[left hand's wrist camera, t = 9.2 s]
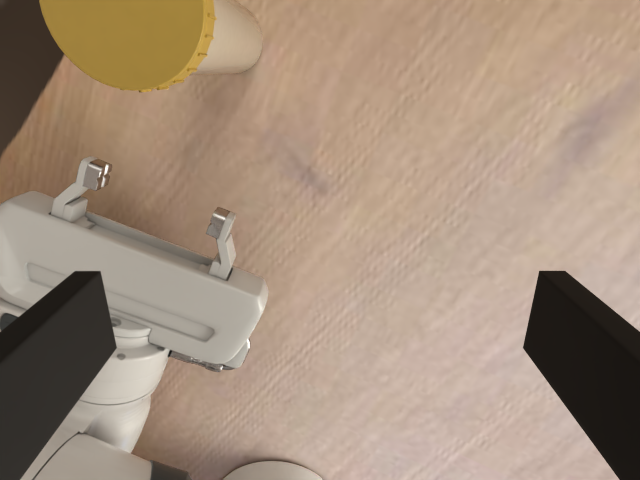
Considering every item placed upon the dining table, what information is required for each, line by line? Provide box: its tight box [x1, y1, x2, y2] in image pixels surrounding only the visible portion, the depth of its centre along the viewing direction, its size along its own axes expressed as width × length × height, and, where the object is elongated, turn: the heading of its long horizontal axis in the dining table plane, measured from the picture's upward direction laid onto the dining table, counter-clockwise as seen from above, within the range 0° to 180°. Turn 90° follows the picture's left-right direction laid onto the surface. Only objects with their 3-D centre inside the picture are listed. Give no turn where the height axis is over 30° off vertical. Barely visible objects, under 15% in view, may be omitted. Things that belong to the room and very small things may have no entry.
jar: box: [190, 0, 263, 75], centre depth 24 cm, size 5×5×18 cm
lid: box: [39, 0, 217, 92], centre depth 16 cm, size 6×6×2 cm
